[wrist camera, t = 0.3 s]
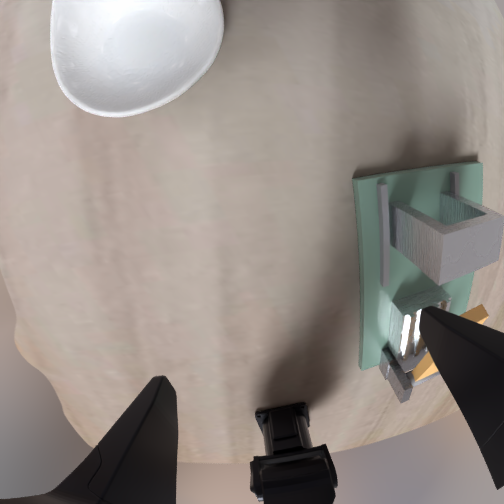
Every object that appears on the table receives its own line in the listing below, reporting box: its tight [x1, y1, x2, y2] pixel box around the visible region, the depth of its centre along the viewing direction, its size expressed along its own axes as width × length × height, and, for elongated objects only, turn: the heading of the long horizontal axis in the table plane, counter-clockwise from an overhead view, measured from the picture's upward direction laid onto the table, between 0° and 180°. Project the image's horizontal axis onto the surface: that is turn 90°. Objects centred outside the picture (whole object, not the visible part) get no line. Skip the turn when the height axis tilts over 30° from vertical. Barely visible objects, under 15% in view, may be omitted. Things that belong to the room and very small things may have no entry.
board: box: [352, 161, 483, 371], centre depth 24 cm, size 21×15×2 cm
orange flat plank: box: [405, 304, 489, 387], centre depth 20 cm, size 12×4×2 cm, turn 12°
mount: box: [379, 347, 428, 403], centre depth 25 cm, size 3×7×6 cm, turn 102°
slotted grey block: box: [387, 285, 452, 361], centre depth 24 cm, size 6×6×3 cm
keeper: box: [388, 191, 504, 286], centre depth 18 cm, size 4×7×7 cm, turn 102°
